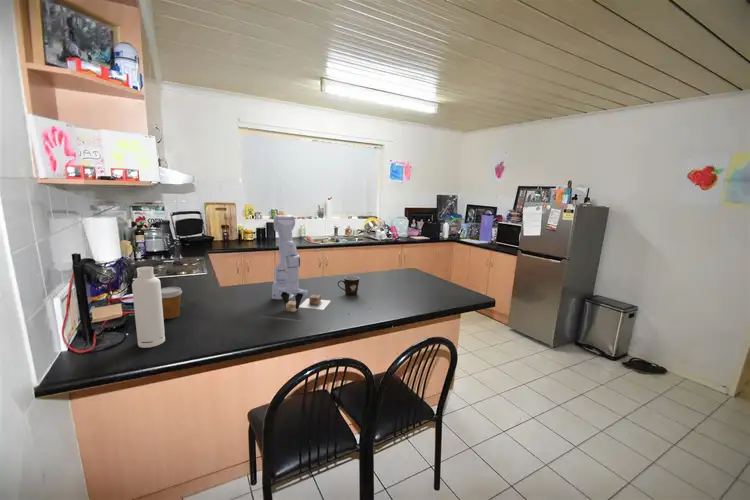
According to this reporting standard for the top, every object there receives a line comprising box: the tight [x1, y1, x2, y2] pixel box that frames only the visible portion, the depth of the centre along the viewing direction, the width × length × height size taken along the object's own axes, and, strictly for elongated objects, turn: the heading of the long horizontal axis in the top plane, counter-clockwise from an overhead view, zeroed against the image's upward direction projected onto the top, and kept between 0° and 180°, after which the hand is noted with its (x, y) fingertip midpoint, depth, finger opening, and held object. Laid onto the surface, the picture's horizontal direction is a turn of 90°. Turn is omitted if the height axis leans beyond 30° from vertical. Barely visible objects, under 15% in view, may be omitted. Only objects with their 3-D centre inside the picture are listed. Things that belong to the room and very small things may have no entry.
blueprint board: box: [299, 298, 331, 311], centre depth 158 cm, size 13×13×1 cm
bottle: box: [131, 266, 166, 349], centre depth 111 cm, size 8×8×28 cm
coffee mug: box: [337, 275, 360, 297], centre depth 175 cm, size 12×9×10 cm
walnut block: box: [309, 294, 322, 306], centre depth 157 cm, size 4×4×4 cm
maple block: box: [285, 300, 298, 313], centre depth 149 cm, size 4×4×4 cm
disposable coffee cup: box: [161, 286, 183, 320], centre depth 135 cm, size 10×10×12 cm
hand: (292, 307), depth 149 cm, fingers closed on maple block, 4 cm apart
